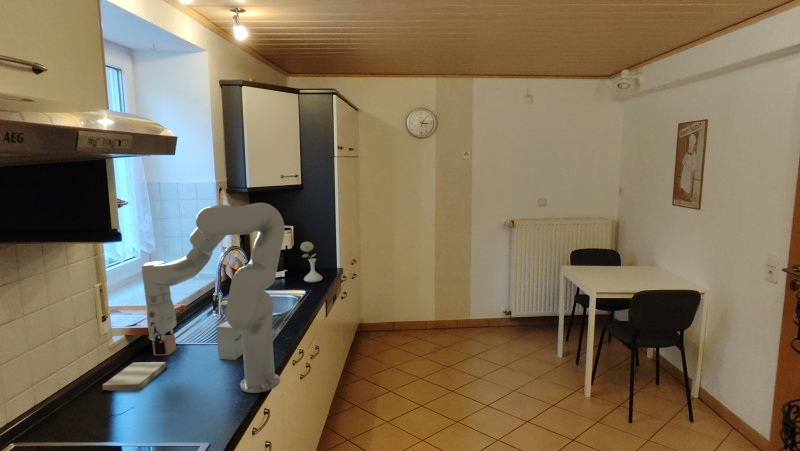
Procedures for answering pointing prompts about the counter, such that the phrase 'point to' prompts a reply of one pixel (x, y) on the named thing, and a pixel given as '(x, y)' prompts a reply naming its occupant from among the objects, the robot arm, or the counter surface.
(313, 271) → the flower in vase
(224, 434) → the counter surface
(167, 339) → the terracotta cube
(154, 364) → the chopping board
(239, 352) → the supplement box
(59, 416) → the counter surface
